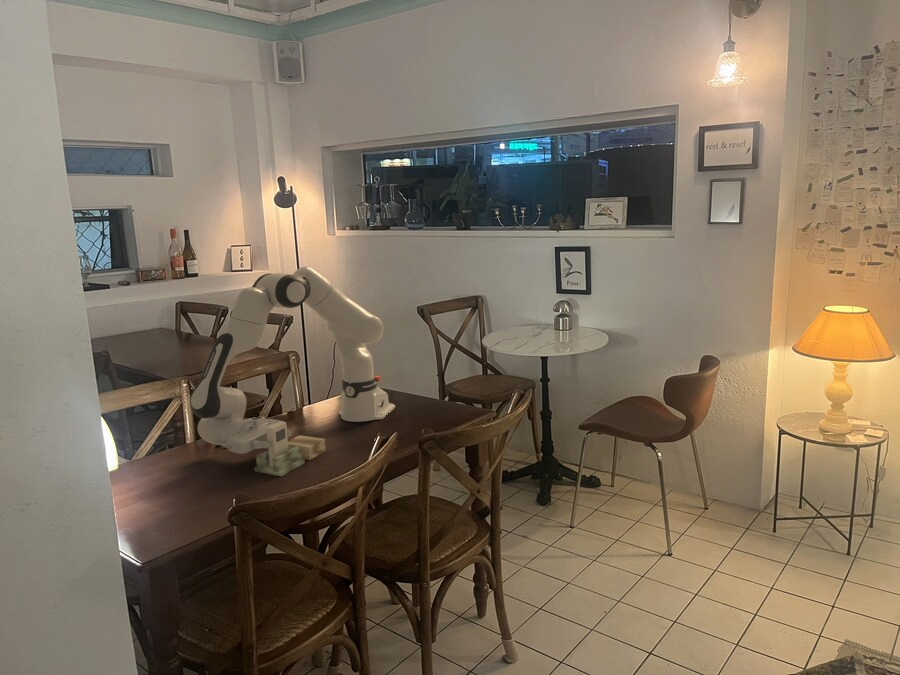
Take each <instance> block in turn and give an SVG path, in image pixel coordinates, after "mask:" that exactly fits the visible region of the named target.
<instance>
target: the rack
mask: <svg viewBox="0 0 900 675" xmlns="http://www.w3.org/2000/svg"><path fill="white" fill-rule="evenodd" d="M255 460H256V466H254V468H253V470H254V472H256V473H262V474H267V475H271V476H278V477H282V476H284V475H286V474H288V473H290V472H292V471H293V470H295V469H296V468H298V467H300V466H302V465H304V464H305V463H306V462H305V461H306V459H302V457H301V447H299V446H296V447H294V448H292V449H290V450H288V451H286V452H284V453H282V454H280V455H279V456H277V457H275V458H273V459H272V461H273V467H271V466H270V463H269V452H268V449H267V450H265V451H263V452H261V453H259V454H257V455H255Z"/></svg>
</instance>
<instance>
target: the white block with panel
mask: <svg viewBox="0 0 900 675" xmlns="http://www.w3.org/2000/svg"><path fill="white" fill-rule="evenodd" d="M286 422H287V421H284V422H277V423H275V424H273V425H271V426H269V427H267V428H266V431H267V441H269V442H270V447H268V448H267V450H268V452H269V463H270V466H271V467H273V461H272V459H273V458H275V457H277V456H279V455H280V454H282V453H284V452H286V451H288V450H289V448H288V441H289V437H288V436H287V431H288V428H287V425H286Z"/></svg>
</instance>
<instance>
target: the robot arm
mask: <svg viewBox="0 0 900 675" xmlns="http://www.w3.org/2000/svg"><path fill="white" fill-rule="evenodd" d="M304 303H305V304H306V305H307V306H308V307H309V308H310V309H311V310H313V311H314V312H315V313H316V314H317V315H319V316H320V317H321V319H322V320H324V321H326V322H327V328H328V331H329V333H330V334H331V335H332V336H333V338H334V340H335V343H336V347H337V348H338V352H339V355H340V359H341V360H340V361H341V368H342V369H341V370H342V380H341V386H342V387H341V388H342V392H341V395H340V396H341V397H340V410H339V411H338V415H339V416H340V418H341V419H342V421H346V422H352V423H354V422H355V423H359V422H360V423H361V422H369V421H375V420H383V419H385V417H386V415H387V416H388V415H389V414H390V413H391V412H392V411H394V409H395V408H396V405H395V404H394V403H392V402H390V401H389V395H388V392H386V391H385V390H383V389H382V388H381V387H379V386H378V384H377V382H381V376H379V375H377V376H376V375H374V361H373V355H372V354H371V353H370V351H369V349H368V348H367V346H366V345H369V344H374V343H377V342H379V341H380V340H381V338H382V337H383V334H384V328H385V326H384V323H383V321H382V320H381V318H380V317H378V316H377V315H375V314H373V313H371V312H369V311H368V310H366V309H365V308H364V307H362V306H361V305H359V304H358V303H357V302H355V301H354V300H352V299H351V298H349V297H348V296H347V295H345V294H344V293H343V291H341V290H340V289H338V287H337V286H336V285H334V283H333V282H331V280H329V279H328V278H327V277H325V275H323V274H322V273H320V272H319V271H317V270H316V269H314V268H312V267H311V266H302V267H299V268H298V269H296V271H295V272H293V274H289V273H288V274H287V273H281V272H279V273H265V274H262V275H260V276H259V277H258V278H257V279H256V280H254V283H253V285H252V286H251V287H249V286H247V287H244V288H243V289H242V290H241V291H240V292H239V294H238V296H237V298H236V300H235V302H234V305H233V308H232V311H231V315H230V316H229V317H230V318H229V322H228V324H227V326H226V328H225V330H224V331H223V333H222V334H221V335H219V336H218V337H217V339H216V340H215V342H214V344H213V346H212V348H211V350H210V353H209V356H208V358H207V361H206V362H205V365H204V368H203V371H202V374H201V375H200V378H199V381H198V382H197V384H196V386H195V387H194V389H193V390H192V392H191V395H190V399H189V405H190V408H191V410H192V412H193V414H194V415H195V416H196V417H198V418H199V419H200V420H199V421H198V423H197V432H198V435H199V437H200V438H201V439H202V440H203V441H205V442H207V443H209V444H213V445H215V446H216V445H221V446H222V448H223V449H224V448H226V449H228V451H230V452H232V453H235V454H239V455H245V454H248V453H250V452H252V451H254V450H259V449H268V447H270V442H269V441H267V431H266V428H267V427H269V426H271V425H273V424H275V423H277V422H285V421H283V420H278V419H275V418H274V419H273V418H266V417H265V416H257V417H253V418H245V414H246V411H247V406H248V399H247V396H246V394H245V393H244V391H243V390H241V389H240V388H234V387H229V386H228V387H227V386H226V387H224V386H220V385H221V381H222V380H223V378H224V377H223V376H224V374H225V372H226V369H227V366H228V365H229V362H230V360H231V359H232V358H233V357H235V356H236V355H238V354H240V353H243V352H244V353H245V352H247V351H248V352H249V351H251V350H253V349H254V348H256V347H257V346H259V345H260V344H261V342H262V340H263V338H264V335H265V332H266V326H267V322H268V317H269V314H270V313H271V311H272V310H273V308H287V309H293V308H297V307H300V306H301V305H302V304H304ZM388 413H389V414H388ZM287 424H288V423H287ZM287 424H286V425H287ZM287 436H288V438H291V437H292V433H291V430H287Z"/></svg>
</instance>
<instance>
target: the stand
mask: <svg viewBox="0 0 900 675" xmlns="http://www.w3.org/2000/svg"><path fill="white" fill-rule="evenodd" d="M296 446H299V447H301V457H302V459H305V460H308V461H311V460H313V459H314V458H316V457H318V456H320V455H322V454H323V453H325V452H326V438H319V437H314V436H308V435H307V436H306V435H299V434H298V435H297V436H295V437H293V438H291V439H288V448H289V450H290V449H292V448H294V447H296Z"/></svg>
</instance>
